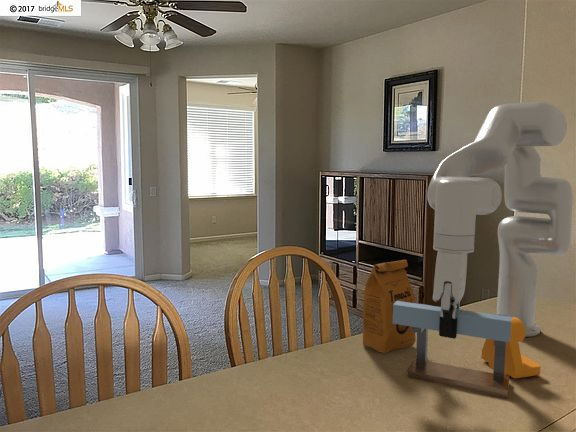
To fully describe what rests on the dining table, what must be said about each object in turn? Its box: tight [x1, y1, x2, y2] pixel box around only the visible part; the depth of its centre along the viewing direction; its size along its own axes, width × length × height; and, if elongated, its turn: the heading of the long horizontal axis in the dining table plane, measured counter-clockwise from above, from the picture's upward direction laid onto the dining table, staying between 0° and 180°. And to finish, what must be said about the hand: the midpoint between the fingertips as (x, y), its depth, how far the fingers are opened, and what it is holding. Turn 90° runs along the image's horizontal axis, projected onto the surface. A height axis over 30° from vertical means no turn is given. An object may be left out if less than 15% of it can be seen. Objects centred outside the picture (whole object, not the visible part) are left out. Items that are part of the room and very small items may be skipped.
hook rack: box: [406, 303, 510, 399], centre depth 102 cm, size 8×20×15 cm, turn 63°
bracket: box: [480, 317, 542, 379], centre depth 108 cm, size 11×7×12 cm, turn 16°
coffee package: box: [362, 259, 417, 354], centre depth 120 cm, size 10×12×22 cm
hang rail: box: [392, 301, 512, 342], centre depth 95 cm, size 3×22×4 cm, turn 63°
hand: (449, 333), depth 95 cm, fingers closed on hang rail, 3 cm apart
